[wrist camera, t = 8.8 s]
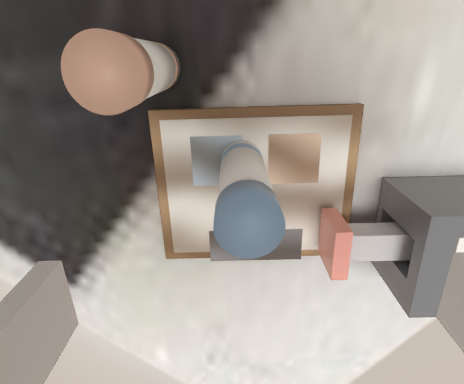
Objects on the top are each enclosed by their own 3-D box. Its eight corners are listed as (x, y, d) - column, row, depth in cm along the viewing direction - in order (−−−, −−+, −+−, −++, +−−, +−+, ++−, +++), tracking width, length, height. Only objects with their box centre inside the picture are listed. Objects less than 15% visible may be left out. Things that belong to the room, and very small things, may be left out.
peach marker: (131, 42, 23) (52, 29, 13) (179, 40, 23) (137, 27, 13) (138, 92, 24) (70, 116, 14) (183, 90, 24) (148, 114, 14)
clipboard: (149, 109, 25) (147, 111, 24) (361, 103, 25) (364, 105, 24) (167, 256, 30) (165, 261, 29) (343, 252, 30) (346, 258, 29)
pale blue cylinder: (218, 139, 25) (211, 195, 15) (263, 138, 25) (286, 193, 15) (220, 181, 26) (215, 259, 16) (263, 180, 26) (284, 257, 16)
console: (382, 177, 27) (432, 217, 20) (468, 175, 27) (547, 214, 20) (369, 259, 30) (409, 318, 23) (446, 258, 30) (509, 316, 23)
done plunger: (321, 208, 26) (336, 232, 23) (411, 206, 26) (440, 230, 23) (318, 250, 28) (331, 280, 24) (402, 248, 28) (428, 278, 24)
